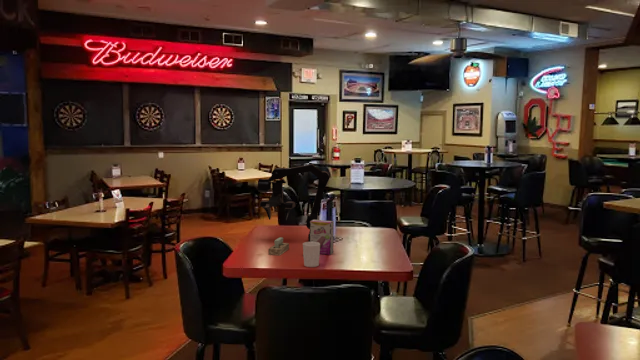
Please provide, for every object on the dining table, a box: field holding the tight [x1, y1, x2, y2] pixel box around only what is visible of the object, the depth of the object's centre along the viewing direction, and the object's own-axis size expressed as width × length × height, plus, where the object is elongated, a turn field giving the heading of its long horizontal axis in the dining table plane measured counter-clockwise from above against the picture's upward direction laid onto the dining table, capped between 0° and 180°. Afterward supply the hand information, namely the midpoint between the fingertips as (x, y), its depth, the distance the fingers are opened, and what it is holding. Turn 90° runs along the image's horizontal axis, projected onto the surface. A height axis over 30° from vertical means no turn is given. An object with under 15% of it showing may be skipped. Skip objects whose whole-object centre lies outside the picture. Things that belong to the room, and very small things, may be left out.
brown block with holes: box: [267, 242, 290, 256], centre depth 244 cm, size 6×14×3 cm, turn 165°
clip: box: [274, 236, 284, 248], centre depth 244 cm, size 2×8×6 cm, turn 165°
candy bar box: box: [309, 219, 335, 256], centre depth 241 cm, size 11×5×16 cm, turn 71°
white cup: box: [302, 241, 321, 268], centre depth 220 cm, size 8×8×10 cm
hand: (277, 219), depth 263 cm, fingers open, 9 cm apart
